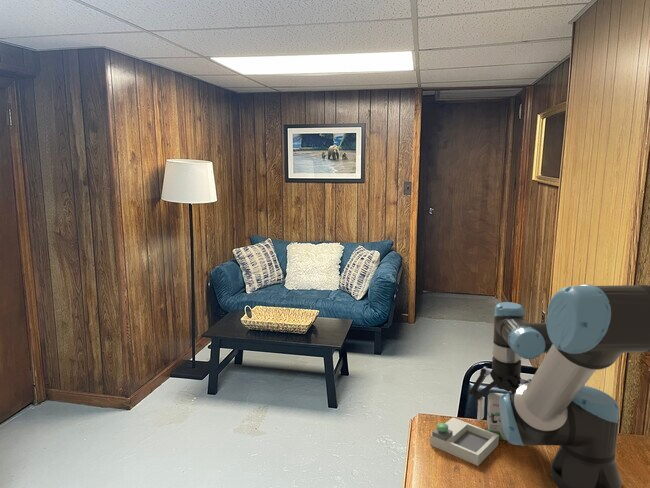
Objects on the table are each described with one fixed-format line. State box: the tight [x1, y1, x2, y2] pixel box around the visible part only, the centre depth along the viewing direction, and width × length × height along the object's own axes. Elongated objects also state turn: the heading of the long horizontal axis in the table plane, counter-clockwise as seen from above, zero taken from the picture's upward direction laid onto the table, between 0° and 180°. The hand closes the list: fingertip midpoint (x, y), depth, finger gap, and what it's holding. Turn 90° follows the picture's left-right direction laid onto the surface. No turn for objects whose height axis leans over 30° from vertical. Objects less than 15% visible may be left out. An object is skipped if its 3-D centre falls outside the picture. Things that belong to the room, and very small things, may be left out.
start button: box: [436, 422, 448, 433], centre depth 132 cm, size 3×3×2 cm
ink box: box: [486, 392, 507, 441], centre depth 136 cm, size 8×5×12 cm, turn 77°
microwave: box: [429, 417, 499, 467], centre depth 132 cm, size 14×12×4 cm
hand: (502, 427), depth 136 cm, fingers open, 13 cm apart
